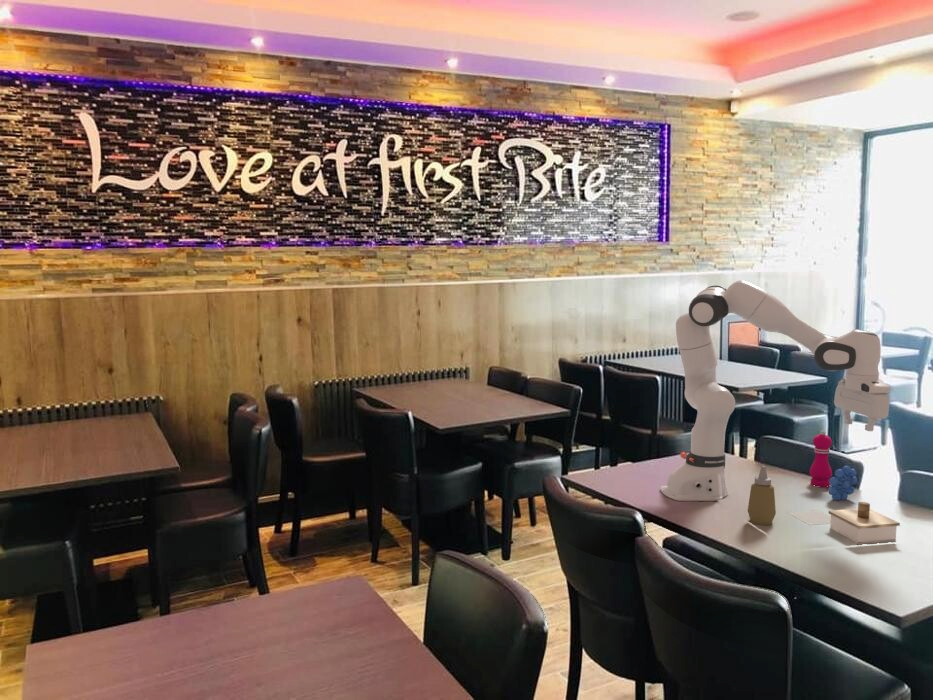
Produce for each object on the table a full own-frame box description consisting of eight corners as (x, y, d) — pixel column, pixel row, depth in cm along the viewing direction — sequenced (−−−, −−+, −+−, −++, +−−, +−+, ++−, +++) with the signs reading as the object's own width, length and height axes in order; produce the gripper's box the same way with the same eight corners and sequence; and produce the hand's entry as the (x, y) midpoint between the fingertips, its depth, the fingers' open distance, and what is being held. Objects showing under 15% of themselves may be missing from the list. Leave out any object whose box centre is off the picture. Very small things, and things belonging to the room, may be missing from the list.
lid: (858, 528, 204) (859, 512, 204) (828, 513, 217) (829, 497, 217) (899, 525, 207) (900, 509, 206) (867, 510, 219) (868, 495, 219)
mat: (809, 526, 220) (809, 524, 220) (787, 514, 231) (787, 512, 231) (841, 524, 222) (842, 522, 222) (818, 512, 233) (818, 510, 232)
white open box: (857, 545, 206) (858, 528, 205) (830, 529, 217) (831, 513, 217) (895, 542, 207) (896, 525, 207) (866, 527, 219) (866, 511, 219)
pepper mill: (833, 488, 256) (836, 433, 254) (812, 487, 258) (814, 432, 255) (828, 482, 263) (830, 428, 261) (806, 481, 265) (809, 427, 262)
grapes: (844, 494, 249) (846, 460, 248) (861, 500, 243) (863, 466, 241) (818, 498, 245) (820, 464, 244) (834, 505, 239) (836, 469, 238)
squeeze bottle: (762, 529, 218) (765, 471, 216) (741, 521, 225) (743, 465, 223) (781, 525, 222) (783, 468, 219) (759, 517, 229) (761, 461, 227)
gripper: (830, 377, 231) (827, 420, 233) (875, 388, 211) (871, 435, 213) (848, 377, 232) (845, 419, 234) (894, 388, 212) (891, 434, 214)
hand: (858, 427), depth 223 cm, fingers open, 8 cm apart
